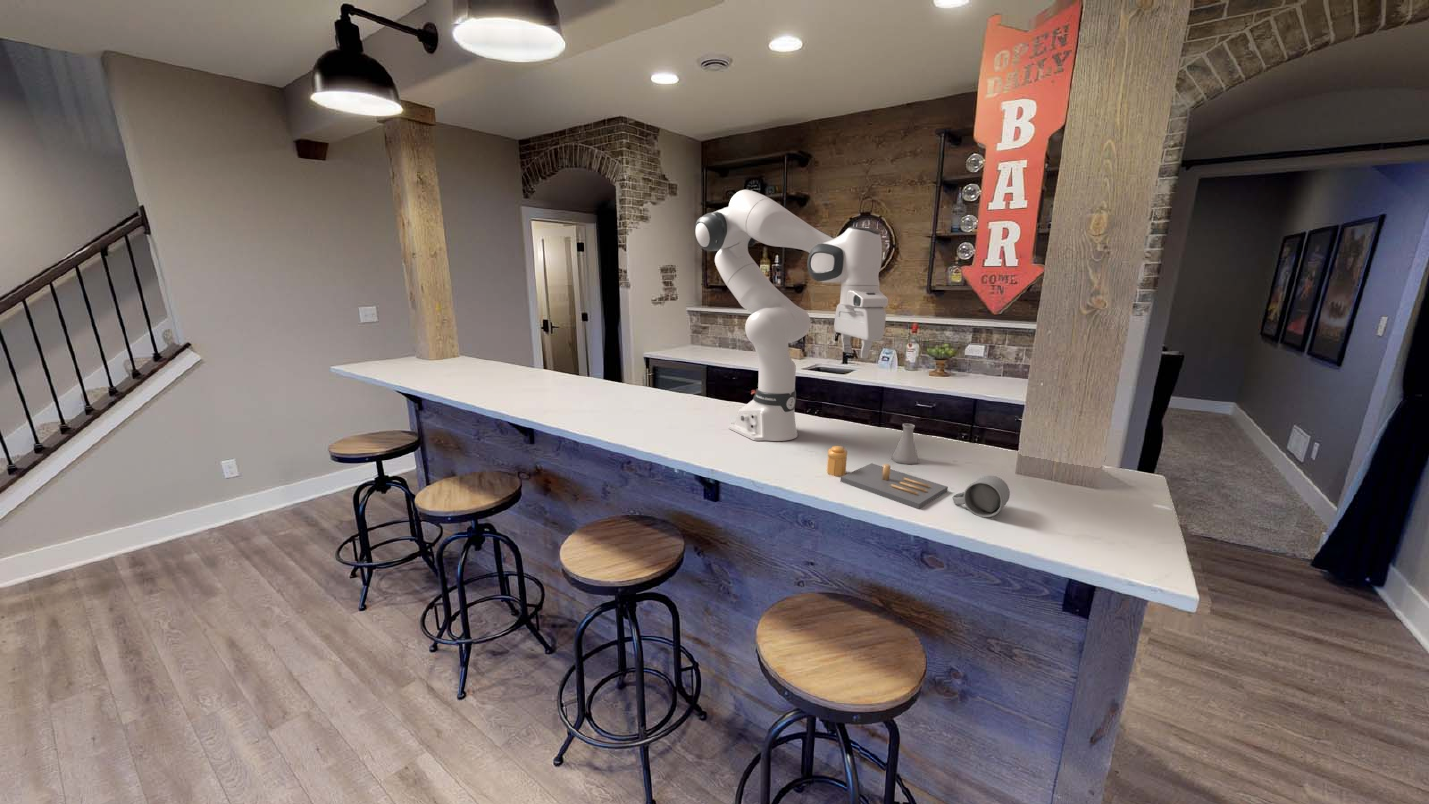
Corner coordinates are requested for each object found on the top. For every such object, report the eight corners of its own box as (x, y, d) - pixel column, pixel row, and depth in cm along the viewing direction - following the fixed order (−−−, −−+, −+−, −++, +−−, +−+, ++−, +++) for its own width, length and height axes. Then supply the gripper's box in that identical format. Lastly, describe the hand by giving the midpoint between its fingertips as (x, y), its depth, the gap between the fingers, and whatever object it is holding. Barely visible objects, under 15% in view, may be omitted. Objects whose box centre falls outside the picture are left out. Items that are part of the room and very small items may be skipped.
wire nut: (823, 472, 135) (824, 447, 133) (833, 467, 138) (835, 443, 136) (838, 477, 132) (840, 452, 130) (848, 473, 135) (851, 448, 133)
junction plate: (840, 481, 129) (841, 463, 128) (871, 467, 138) (872, 450, 137) (918, 508, 115) (921, 488, 114) (947, 491, 124) (949, 472, 123)
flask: (915, 456, 147) (919, 421, 145) (922, 465, 140) (926, 429, 138) (888, 455, 148) (891, 420, 146) (894, 464, 141) (898, 428, 139)
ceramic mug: (1009, 509, 116) (1014, 476, 114) (999, 522, 110) (1004, 487, 108) (958, 496, 122) (962, 464, 120) (946, 508, 116) (950, 475, 114)
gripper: (829, 295, 136) (826, 349, 140) (865, 299, 117) (861, 362, 120) (852, 295, 138) (849, 348, 141) (892, 299, 118) (887, 361, 121)
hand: (855, 355), depth 130 cm, fingers open, 8 cm apart
